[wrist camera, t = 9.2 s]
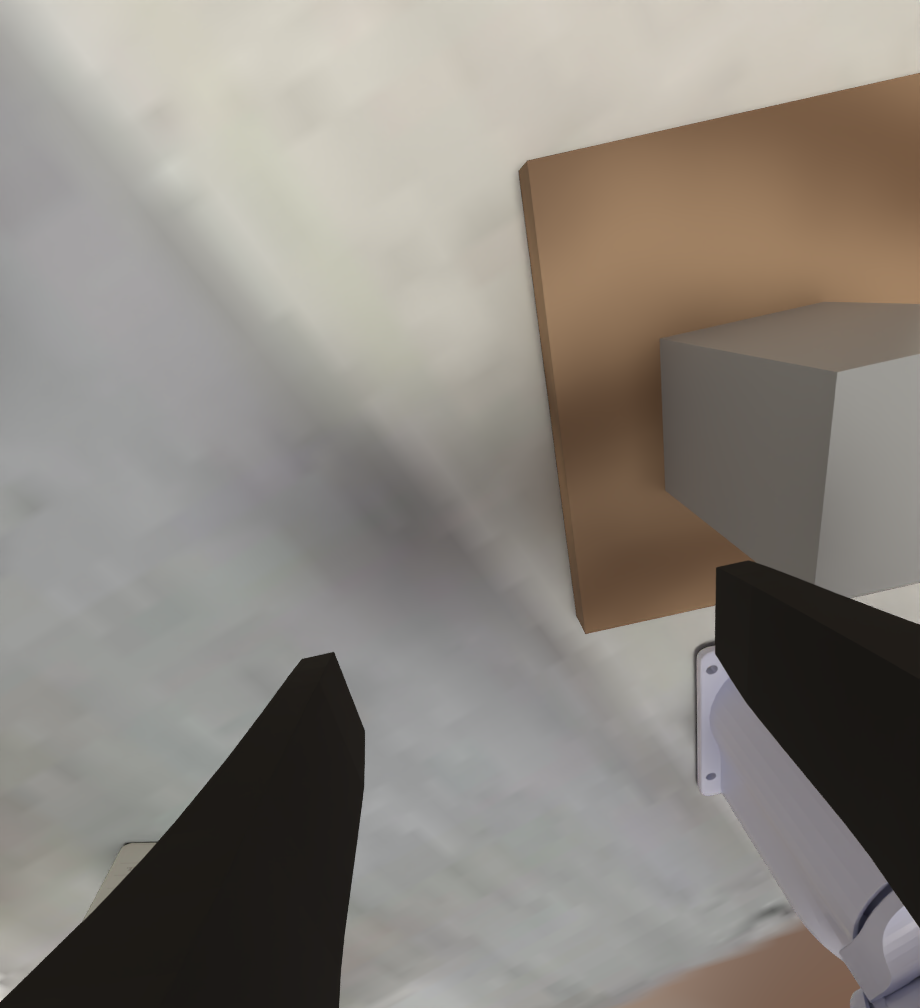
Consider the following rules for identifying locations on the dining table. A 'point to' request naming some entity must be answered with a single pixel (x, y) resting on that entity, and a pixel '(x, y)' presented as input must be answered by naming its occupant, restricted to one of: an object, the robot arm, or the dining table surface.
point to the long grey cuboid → (803, 439)
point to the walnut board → (697, 301)
